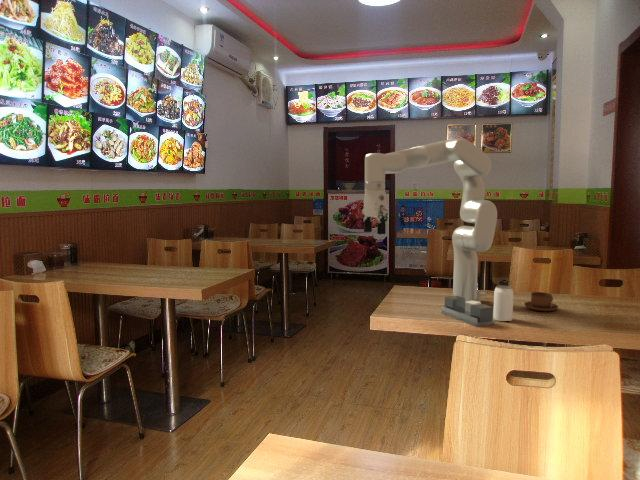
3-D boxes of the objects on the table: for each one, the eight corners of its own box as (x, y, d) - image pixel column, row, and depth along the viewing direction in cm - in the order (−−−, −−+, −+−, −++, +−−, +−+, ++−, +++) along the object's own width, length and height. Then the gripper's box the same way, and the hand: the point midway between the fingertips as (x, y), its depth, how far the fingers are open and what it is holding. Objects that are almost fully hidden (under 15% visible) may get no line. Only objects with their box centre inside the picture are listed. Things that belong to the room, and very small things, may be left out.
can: (510, 323, 175) (511, 289, 174) (491, 320, 179) (492, 287, 177) (514, 318, 181) (515, 286, 179) (495, 316, 184) (496, 284, 183)
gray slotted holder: (458, 311, 192) (459, 295, 191) (494, 324, 173) (495, 306, 173) (441, 313, 189) (441, 297, 188) (476, 326, 170) (476, 308, 170)
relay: (472, 310, 194) (472, 300, 193) (480, 312, 191) (481, 302, 190) (463, 312, 191) (464, 302, 190) (472, 314, 188) (473, 304, 187)
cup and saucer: (531, 304, 204) (532, 289, 203) (562, 309, 195) (563, 294, 195) (519, 309, 195) (519, 294, 195) (550, 315, 187) (551, 298, 186)
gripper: (396, 186, 179) (395, 234, 181) (371, 187, 195) (371, 230, 197) (378, 187, 176) (377, 235, 178) (354, 187, 192) (354, 231, 193)
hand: (374, 232), depth 187 cm, fingers open, 9 cm apart
